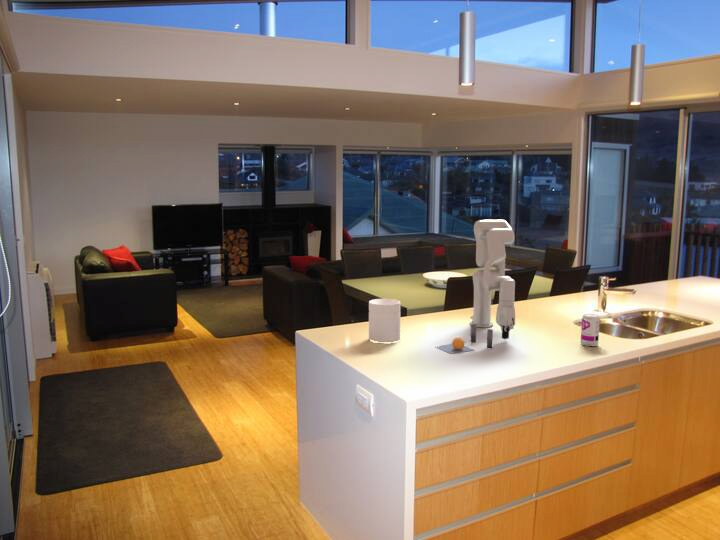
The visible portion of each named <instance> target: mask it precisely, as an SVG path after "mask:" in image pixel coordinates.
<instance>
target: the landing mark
mask: <svg viewBox="0 0 720 540" xmlns="http://www.w3.org/2000/svg"><path fill="white" fill-rule="evenodd" d="M436 346H437V349H438V348H439V349H438V350H441V351H443V352H446V353H448V354H450V355H452V354H458V353H459V354H460V353H465V352H466V351H467V352H474V351H475V349H474V348H471V347H469V346H466V345H464V347H463V349H461V350H456V349H454V348H453V346H452V343H451V344H450V343H449V344H448V343H447V344H441V345H436ZM438 346H439V347H438ZM473 350H474V351H473Z"/></svg>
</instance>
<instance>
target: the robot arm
mask: <svg viewBox="0 0 720 540" xmlns="http://www.w3.org/2000/svg"><path fill="white" fill-rule="evenodd" d="M473 234H474V238H475V240H476V241H475V243H476V245H475V248H476V249H475V263H476V266H478V267H480V268H481V269H477V270H474V271H473V273H472V284H473V310H472V311H473V315H472V316H470V317H469V318H470V319H471V320H472V321H471V322H470V326H471V324H476V328H491V327H493V326H494V323H493V322H492V321H491V314H492V313H491V312H492V311H491V310H492V308H491V307H492V294H491V291H492V292H493V291H494V292H496V291H497V292H498V291H499V293H498V295H499V296H498V304H497V307H496V314H495V323H496V324H497V325H498V326H500V330H501V339H503V340H508V339H510V331H511V330H513V329H514V326H515V325H516V309H515V308H516V307H515V296H516V295H515V293H516V292H515V290H516V281H515V279H513V278H512V277H511V276H509V275H506V274H505V273H506V258H507V254H506V247H505V245H512V244H513V243H514V242H515V237H516V236H515V233H514V230H513V228H512V226H511V225H510V224H509V223H508V222H507V220H505V219H479V220H477V221H475V222H474V226H473ZM482 268H483V269H482Z"/></svg>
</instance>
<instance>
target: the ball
mask: <svg viewBox="0 0 720 540" xmlns="http://www.w3.org/2000/svg"><path fill="white" fill-rule="evenodd" d="M451 344H452V346H453V348H454V349H456V350H461V349H463V347H464V346H466V343H465V341H464V339H463V338H461V337H455V338H454V339H453V340H452V342H451Z"/></svg>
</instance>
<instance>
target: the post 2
mask: <svg viewBox="0 0 720 540" xmlns="http://www.w3.org/2000/svg"><path fill="white" fill-rule="evenodd" d="M493 331H494V330H493V329H491V328H490V329H489V328H488V329H487V331H486V332H487V333H486V349H488V348H491V349H493V336H494V335H493V334H494V333H493Z"/></svg>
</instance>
